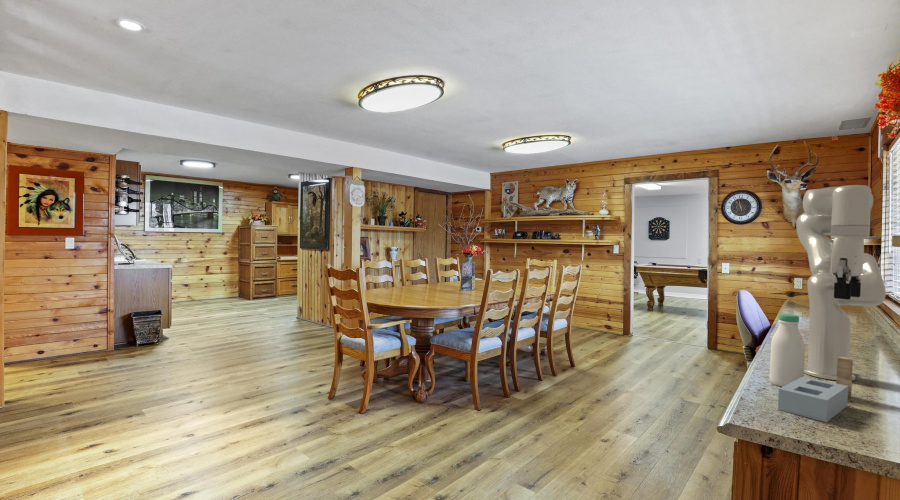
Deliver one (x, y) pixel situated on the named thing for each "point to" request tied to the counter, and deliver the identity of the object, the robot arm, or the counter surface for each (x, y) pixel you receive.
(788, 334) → the milk bottle
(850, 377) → the peg
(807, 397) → the hole block
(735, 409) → the counter surface
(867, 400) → the counter surface
